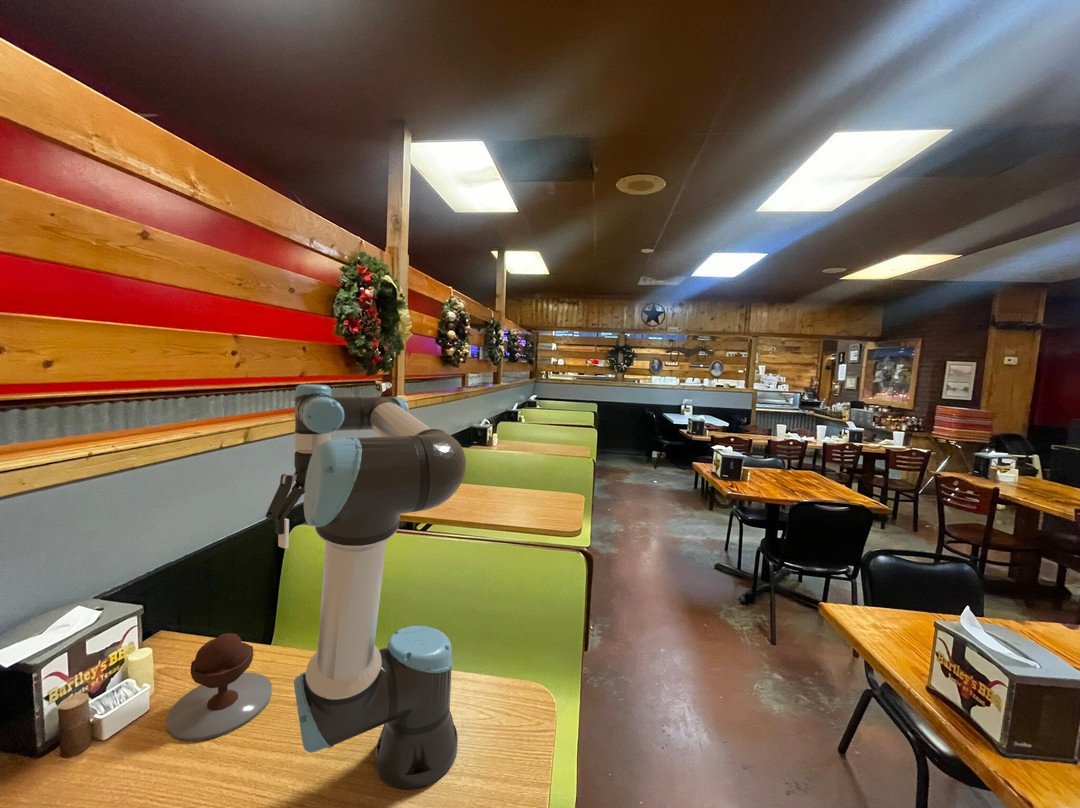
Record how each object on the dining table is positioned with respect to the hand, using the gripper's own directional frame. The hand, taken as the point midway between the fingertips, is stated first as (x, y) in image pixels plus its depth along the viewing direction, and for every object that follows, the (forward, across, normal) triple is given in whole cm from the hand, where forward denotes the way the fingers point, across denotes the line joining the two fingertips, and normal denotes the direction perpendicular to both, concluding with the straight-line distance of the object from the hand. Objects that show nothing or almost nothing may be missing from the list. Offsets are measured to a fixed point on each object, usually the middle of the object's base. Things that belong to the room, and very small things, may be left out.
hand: (311, 537), depth 105 cm
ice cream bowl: (+31, +18, -3) cm, 36 cm away
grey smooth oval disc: (+32, +18, -3) cm, 36 cm away
